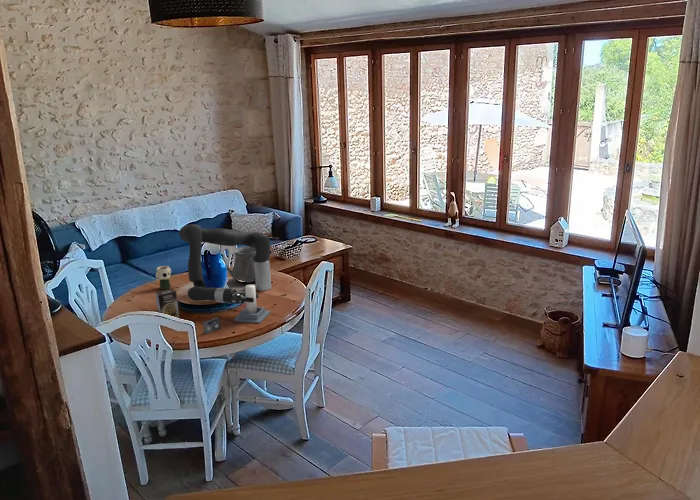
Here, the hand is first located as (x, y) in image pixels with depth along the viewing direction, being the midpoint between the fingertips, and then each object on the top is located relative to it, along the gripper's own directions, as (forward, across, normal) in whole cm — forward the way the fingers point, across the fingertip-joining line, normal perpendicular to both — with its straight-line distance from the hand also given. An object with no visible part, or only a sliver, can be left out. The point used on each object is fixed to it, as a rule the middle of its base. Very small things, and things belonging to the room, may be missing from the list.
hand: (255, 298), depth 277 cm
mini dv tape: (-14, -20, +11) cm, 27 cm away
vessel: (-29, +52, +11) cm, 60 cm away
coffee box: (-42, -14, +11) cm, 46 cm away
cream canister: (-3, 0, +8) cm, 8 cm away
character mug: (-73, +28, +11) cm, 79 cm away
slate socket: (-2, 0, +11) cm, 11 cm away
